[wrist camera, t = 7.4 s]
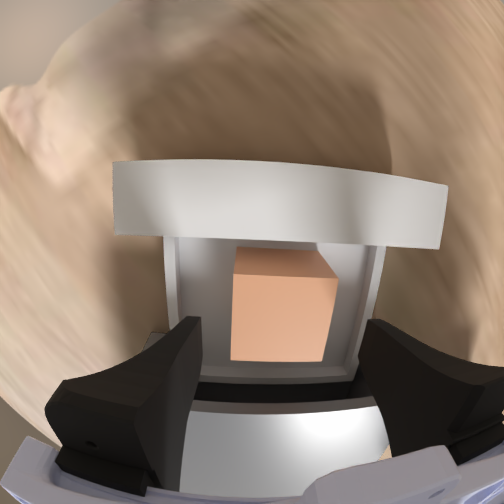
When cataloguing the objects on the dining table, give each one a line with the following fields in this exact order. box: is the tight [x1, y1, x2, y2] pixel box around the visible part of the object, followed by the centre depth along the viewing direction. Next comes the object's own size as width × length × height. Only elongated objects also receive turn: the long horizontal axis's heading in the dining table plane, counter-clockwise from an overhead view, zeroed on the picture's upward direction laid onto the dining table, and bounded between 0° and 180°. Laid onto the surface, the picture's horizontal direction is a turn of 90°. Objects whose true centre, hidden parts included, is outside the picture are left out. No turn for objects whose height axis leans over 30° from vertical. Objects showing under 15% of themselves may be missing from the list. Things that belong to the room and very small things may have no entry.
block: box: [231, 247, 339, 362], centre depth 15 cm, size 4×4×4 cm
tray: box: [113, 159, 448, 384], centre depth 15 cm, size 14×14×5 cm
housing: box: [142, 332, 389, 498], centre depth 18 cm, size 16×16×7 cm
